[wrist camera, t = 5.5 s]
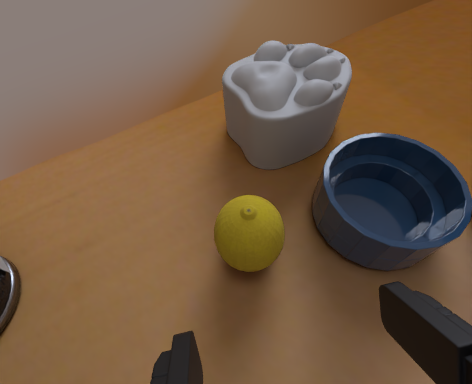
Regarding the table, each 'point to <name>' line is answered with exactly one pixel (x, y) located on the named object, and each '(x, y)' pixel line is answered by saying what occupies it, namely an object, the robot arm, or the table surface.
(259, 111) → the paw print block
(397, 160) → the bowl
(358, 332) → the table surface
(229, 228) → the lemon
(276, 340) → the table surface
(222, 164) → the table surface
